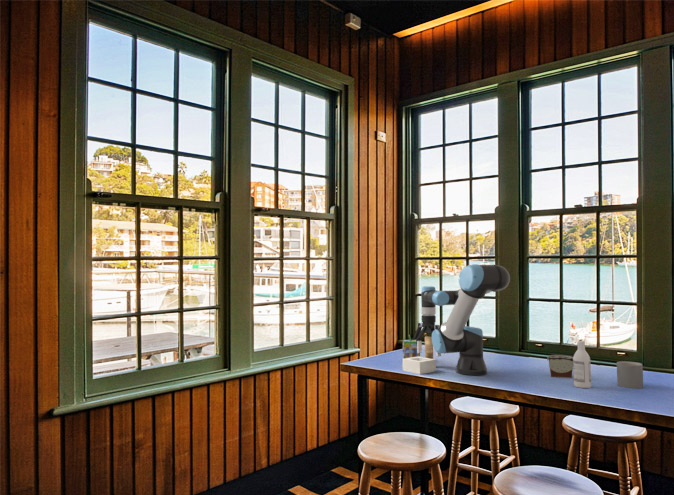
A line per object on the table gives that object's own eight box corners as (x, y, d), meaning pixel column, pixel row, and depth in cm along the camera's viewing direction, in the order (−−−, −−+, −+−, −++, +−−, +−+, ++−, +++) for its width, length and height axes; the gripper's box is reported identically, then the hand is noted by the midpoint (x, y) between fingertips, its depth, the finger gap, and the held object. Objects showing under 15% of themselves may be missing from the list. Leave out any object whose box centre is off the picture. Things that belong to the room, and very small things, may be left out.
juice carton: (420, 362, 274) (420, 335, 274) (404, 362, 274) (404, 335, 275) (418, 359, 283) (417, 333, 284) (402, 359, 283) (402, 333, 284)
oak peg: (435, 367, 259) (434, 337, 260) (429, 368, 257) (429, 337, 257) (428, 365, 263) (428, 336, 264) (423, 366, 260) (422, 336, 261)
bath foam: (585, 384, 218) (583, 340, 219) (594, 388, 211) (593, 342, 212) (570, 385, 218) (569, 340, 219) (579, 388, 211) (578, 342, 212)
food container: (572, 375, 237) (572, 355, 238) (575, 378, 231) (574, 357, 232) (545, 374, 240) (545, 354, 241) (547, 377, 235) (547, 356, 235)
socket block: (435, 371, 248) (435, 359, 248) (419, 374, 241) (419, 362, 241) (418, 367, 258) (418, 356, 258) (402, 370, 250) (402, 358, 251)
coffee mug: (640, 389, 209) (639, 366, 209) (614, 386, 215) (614, 363, 216) (647, 384, 219) (646, 362, 219) (622, 381, 225) (621, 359, 226)
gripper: (451, 316, 253) (451, 357, 252) (416, 312, 273) (416, 350, 272) (441, 317, 249) (442, 358, 248) (407, 313, 269) (407, 352, 268)
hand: (428, 354), depth 260 cm, fingers open, 13 cm apart
